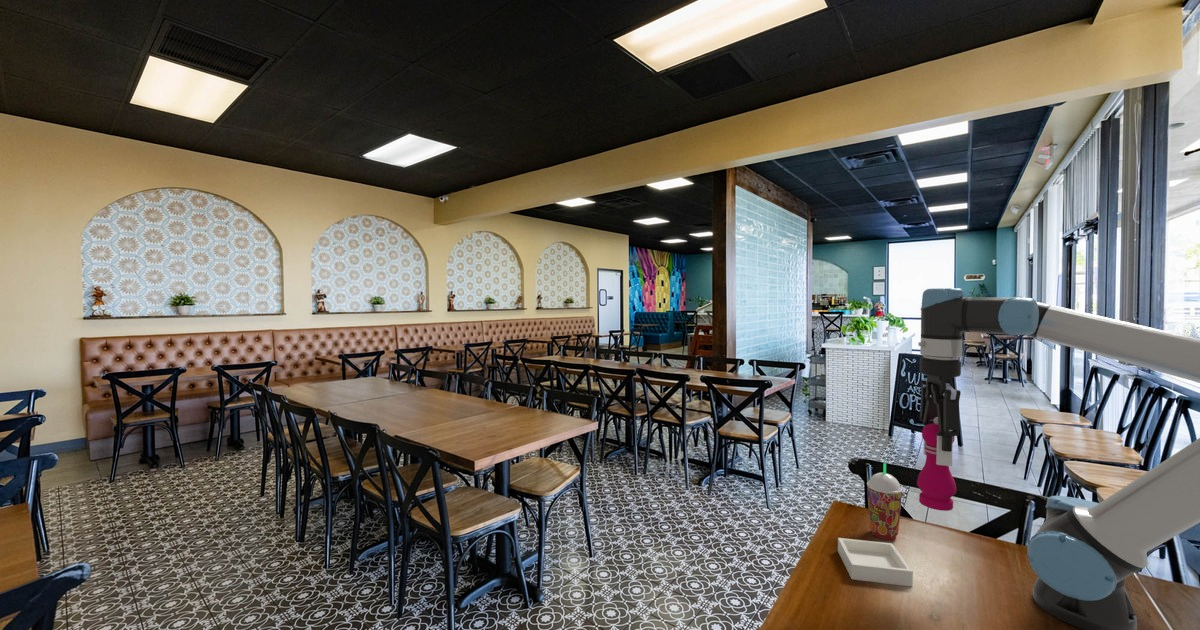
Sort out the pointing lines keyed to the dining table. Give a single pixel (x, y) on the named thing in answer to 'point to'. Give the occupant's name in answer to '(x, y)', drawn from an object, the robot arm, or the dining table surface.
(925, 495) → the pepper mill
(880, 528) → the smoothie
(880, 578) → the tray
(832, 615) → the dining table surface
